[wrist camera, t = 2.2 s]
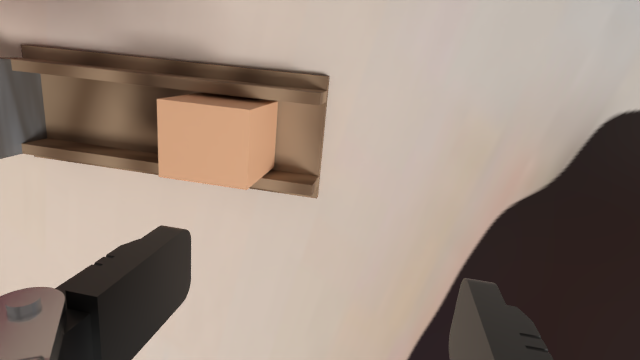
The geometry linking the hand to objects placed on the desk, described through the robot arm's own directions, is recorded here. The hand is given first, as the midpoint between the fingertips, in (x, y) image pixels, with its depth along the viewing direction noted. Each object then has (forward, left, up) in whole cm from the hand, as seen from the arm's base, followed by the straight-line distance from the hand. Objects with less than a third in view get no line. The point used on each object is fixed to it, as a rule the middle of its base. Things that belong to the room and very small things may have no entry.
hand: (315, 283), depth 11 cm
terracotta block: (+10, 0, -20) cm, 22 cm away
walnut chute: (+16, 0, -20) cm, 26 cm away
